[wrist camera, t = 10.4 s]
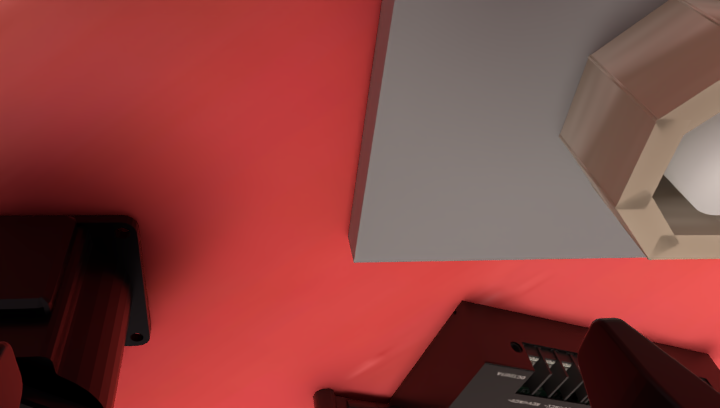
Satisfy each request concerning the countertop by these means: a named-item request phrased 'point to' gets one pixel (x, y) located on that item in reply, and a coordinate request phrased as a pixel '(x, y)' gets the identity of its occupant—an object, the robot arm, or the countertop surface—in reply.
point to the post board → (495, 135)
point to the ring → (650, 124)
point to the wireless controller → (503, 365)
